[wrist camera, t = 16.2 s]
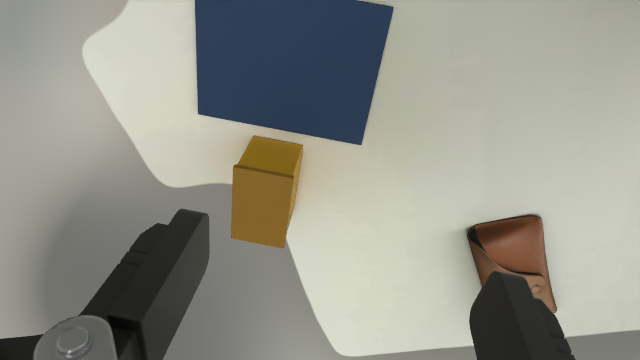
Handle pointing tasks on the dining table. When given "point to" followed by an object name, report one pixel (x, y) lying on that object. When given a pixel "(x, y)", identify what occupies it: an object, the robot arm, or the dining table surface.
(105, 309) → the robot arm
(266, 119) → the cloth
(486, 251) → the sunglasses case
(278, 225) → the container
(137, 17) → the dining table surface
